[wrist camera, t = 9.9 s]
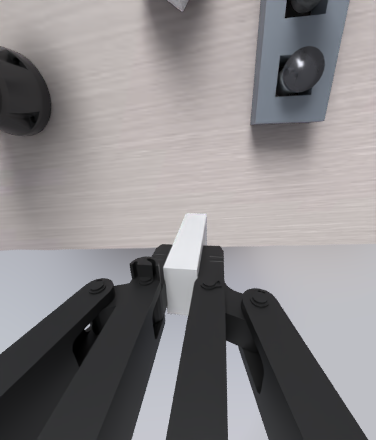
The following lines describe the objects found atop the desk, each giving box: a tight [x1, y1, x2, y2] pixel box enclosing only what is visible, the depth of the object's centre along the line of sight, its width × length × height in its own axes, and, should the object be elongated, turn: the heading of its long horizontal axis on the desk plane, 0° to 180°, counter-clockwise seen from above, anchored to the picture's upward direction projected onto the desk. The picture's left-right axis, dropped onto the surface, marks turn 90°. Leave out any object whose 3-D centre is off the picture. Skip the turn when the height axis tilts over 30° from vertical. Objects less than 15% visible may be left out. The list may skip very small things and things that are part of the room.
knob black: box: [276, 46, 325, 97], centre depth 30 cm, size 5×5×8 cm
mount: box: [251, 0, 349, 125], centre depth 28 cm, size 10×30×6 cm, turn 2°
